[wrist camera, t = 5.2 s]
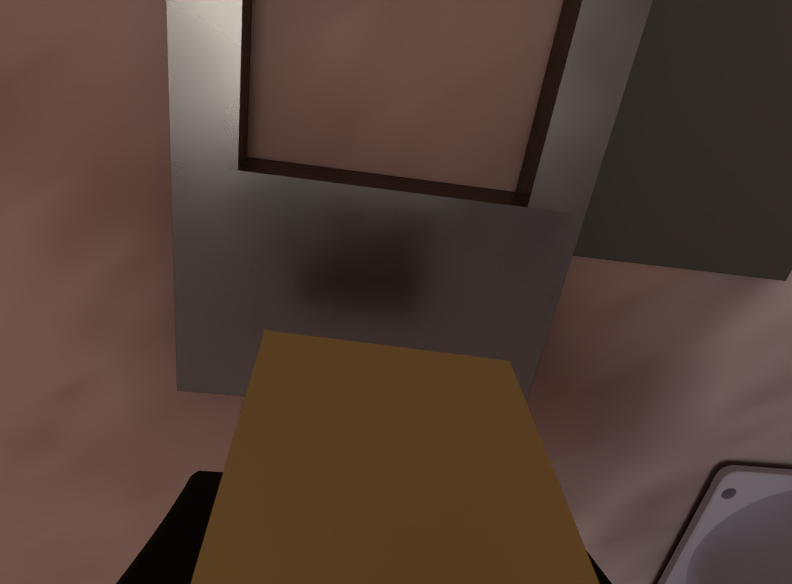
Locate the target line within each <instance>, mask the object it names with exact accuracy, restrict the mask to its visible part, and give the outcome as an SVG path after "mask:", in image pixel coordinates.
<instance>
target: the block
mask: <svg viewBox="0 0 792 584" xmlns="http://www.w3.org/2000/svg"><path fill="white" fill-rule="evenodd" d="M191 584H599V581H598V579H597V576H596V574H595V571H594V569H593V566H592V564H591V561H590V559H589V556H588V554H587V551H586V549H585V546H584V544H583V542H582V539H581V537H580V534H579V532H578V529H577V527H576V524H575V522H574V519H573V517H572V514H571V512H570V509H569V507H568V504H567V502H566V499H565V497H564V494H563V492H562V490H561V487H560V485H559V482H558V480H557V477H556V475H555V472H554V470H553V467H552V465H551V462H550V460H549V457H548V455H547V452H546V450H545V447H544V445H543V443H542V440H541V438H540V435H539V433H538V430H537V428H536V425H535V423H534V420H533V418H532V415H531V413H530V410H529V408H528V405H527V403H526V400H525V398H524V395H523V393H522V391H521V388H520V386H519V383H518V381H517V378H516V376H515V373H514V371H513V368H512V366H511V363H510V361H506V360H499V359H491V358H483V357H475V356H467V355H459V354H451V353H443V352H435V351H427V350H419V349H411V348H403V347H396V346H388V345H380V344H372V343H364V342H356V341H348V340H340V339H332V338H324V337H316V336H308V335H300V334H293V333H285V332H277V331H269V330H265V331H264V334H263V338H262V341H261V344H260V348H259V351H258V355H257V358H256V362H255V365H254V368H253V372H252V375H251V379H250V382H249V386H248V389H247V392H246V396H245V399H244V403H243V406H242V410H241V413H240V416H239V420H238V423H237V427H236V430H235V434H234V437H233V440H232V444H231V447H230V451H229V454H228V457H227V461H226V464H225V468H224V471H223V475H222V478H221V481H220V485H219V488H218V492H217V495H216V499H215V502H214V505H213V509H212V512H211V516H210V519H209V523H208V526H207V529H206V533H205V536H204V540H203V543H202V546H201V550H200V553H199V557H198V560H197V564H196V567H195V570H194V574H193V577H192V581H191Z"/></svg>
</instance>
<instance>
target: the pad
mask: <svg viewBox="0 0 792 584" xmlns="http://www.w3.org/2000/svg"><path fill="white" fill-rule="evenodd" d="M573 256H581V257H590V258H598V259H606V260H615V261H623V262H632V263H640V264H648V265H657V266H665V267H674V268H682V269H690V270H699V271H707V272H716V273H724V274H733V275H741V276H749V277H758V278H766V279H775V280H783V281H786V279H787V277H788V275H789V274H790V272H791V270H792V0H653V1H652V4H651V7H650V11H649V14H648V17H647V20H646V23H645V26H644V30H643V33H642V36H641V39H640V42H639V46H638V49H637V52H636V55H635V58H634V61H633V65H632V68H631V71H630V74H629V77H628V81H627V84H626V87H625V90H624V93H623V96H622V100H621V103H620V106H619V109H618V112H617V116H616V119H615V122H614V125H613V128H612V131H611V135H610V138H609V141H608V144H607V147H606V151H605V154H604V157H603V160H602V163H601V166H600V170H599V173H598V176H597V179H596V182H595V186H594V189H593V192H592V195H591V198H590V201H589V205H588V208H587V211H586V214H585V217H584V221H583V224H582V227H581V230H580V233H579V236H578V240H577V243H576V246H575V249H574V252H573Z"/></svg>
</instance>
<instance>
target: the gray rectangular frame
mask: <svg viewBox="0 0 792 584" xmlns="http://www.w3.org/2000/svg"><path fill="white" fill-rule="evenodd" d="M652 1H653V0H564V3H563V7H562V11H561V15H560V19H559V23H558V27H557V31H556V35H555V39H554V43H553V47H552V51H551V55H550V59H549V63H548V67H547V71H546V75H545V79H544V83H543V87H542V91H541V94H540V98H539V102H538V106H537V110H536V114H535V118H534V122H533V126H532V130H531V134H530V138H529V142H528V146H527V150H526V154H525V158H524V162H523V166H522V170H521V174H520V178H519V182H518V186H517V190H516V193H515V192H508V191H500V190H493V189H485V188H477V187H470V186H462V185H454V184H447V183H439V182H431V181H424V180H416V179H409V178H401V177H393V176H386V175H378V174H370V173H363V172H355V171H347V170H340V169H332V168H325V167H317V166H309V165H302V164H294V163H286V162H279V161H271V160H264V159H256V158H248V157H247V132H248V102H249V71H250V41H251V11H252V0H167V34H168V71H169V108H170V145H171V183H172V220H173V257H174V294H175V331H176V368H177V391H189V392H201V393H213V394H226V395H238V396H246V392H247V389H248V386H249V382H250V379H251V375H252V372H253V368H254V365H255V362H256V358H257V355H258V351H259V348H260V344H261V341H262V338H263V334H264V331H265V330H269V331H277V332H285V333H293V334H300V335H308V336H316V337H324V338H332V339H340V340H348V341H356V342H364V343H372V344H380V345H388V346H396V347H403V348H411V349H419V350H427V351H435V352H443V353H451V354H459V355H467V356H475V357H483V358H491V359H499V360H506V361H510V363H511V366H512V368H513V371H514V373H515V376H516V378H517V381H518V383H519V386H520V388H521V391H522V393H523V395H524V398H525V400H526V402H527V399H528V395H529V392H530V389H531V386H532V383H533V380H534V376H535V373H536V370H537V367H538V364H539V360H540V357H541V354H542V351H543V348H544V345H545V341H546V338H547V335H548V332H549V329H550V325H551V322H552V319H553V316H554V313H555V310H556V306H557V303H558V300H559V297H560V294H561V290H562V287H563V284H564V281H565V278H566V275H567V271H568V268H569V265H570V262H571V259H572V255H573V252H574V249H575V246H576V243H577V240H578V236H579V233H580V230H581V227H582V224H583V221H584V217H585V214H586V211H587V208H588V205H589V201H590V198H591V195H592V192H593V189H594V186H595V182H596V179H597V176H598V173H599V170H600V166H601V163H602V160H603V157H604V154H605V151H606V147H607V144H608V141H609V138H610V135H611V131H612V128H613V125H614V122H615V119H616V116H617V112H618V109H619V106H620V103H621V100H622V96H623V93H624V90H625V87H626V84H627V81H628V77H629V74H630V71H631V68H632V65H633V61H634V58H635V55H636V52H637V49H638V46H639V42H640V39H641V36H642V33H643V30H644V26H645V23H646V20H647V17H648V14H649V11H650V7H651V4H652Z"/></svg>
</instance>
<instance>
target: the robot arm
mask: <svg viewBox="0 0 792 584" xmlns="http://www.w3.org/2000/svg"><path fill="white" fill-rule="evenodd" d="M222 475H223V472H209V471H198V472H196V473H195V474H193V475H192V476H191V477H190V479H189V480H188V482H187V484H186V486H185V487H184V489H183V491H182V492H181V494H180V495H179V497H178V498H177V500H176V502H175V503H174V505H173V506H172V508H171V509H170V511H169V512H168V514H167V515H166V517H165V518H164V520H163V521H162V523H161V524H160V525H159V527H158V528H157V530H156V531H155V532H154V534H153V535H152V537H151V538H150V539H149V541H148V542H147V544H146V545H145V546H144V548H143V549H142V550H141V552H140V553H139V554H138V556H137V557H136V558H135V560H134V561H133V562H132V564H131V565H130V566H129V568H128V569H127V570H126V571H125V573H124V574H123V575H122V577H121V578H120V579H119V581H118V582H117V583H116V584H191V581H192V577H193V574H194V570H195V567H196V564H197V560H198V557H199V553H200V550H201V546H202V543H203V540H204V536H205V533H206V529H207V526H208V523H209V519H210V516H211V512H212V509H213V505H214V502H215V499H216V495H217V492H218V488H219V485H220V481H221V478H222ZM587 554H588V556H589V559H590V561H591V564H592V566H593V569H594V571H595V574H596V576H597V579H598V581H599V584H612V583H611V582H610V581H609V580H608V578H607V577H606V576H605V574H604V573H603V572H602V570H601V569H600V568H599V567H598V565H597V564H596V563H595V561H594V560H593V559H592V557H591V556H590V555H589V553H588V552H587ZM657 584H792V469H780V468H767V467H754V466H740V465H729V466H726V467H723V468H722V469H720V470H719V471H718V473H717V474H716V476H715V477H714V479H713V481H712V483H711V485H710V487H709V489H708V490H707V492H706V494H705V496H704V498H703V500H702V502H701V503H700V505H699V507H698V509H697V511H696V513H695V515H694V516H693V518H692V520H691V522H690V524H689V526H688V528H687V529H686V531H685V533H684V535H683V537H682V539H681V541H680V542H679V544H678V546H677V548H676V550H675V552H674V554H673V556H672V557H671V559H670V561H669V563H668V565H667V567H666V569H665V570H664V572H663V574H662V576H661V578H660V580H659V582H658V583H657Z"/></svg>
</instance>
